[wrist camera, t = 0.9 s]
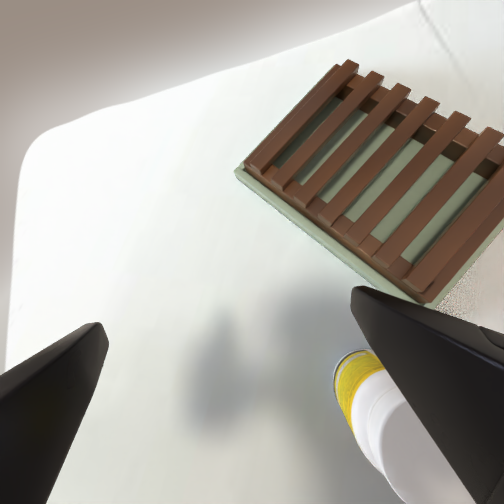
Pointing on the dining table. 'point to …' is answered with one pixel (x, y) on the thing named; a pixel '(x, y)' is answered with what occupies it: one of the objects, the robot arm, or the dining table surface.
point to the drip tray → (371, 194)
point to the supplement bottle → (393, 433)
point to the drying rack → (406, 127)
